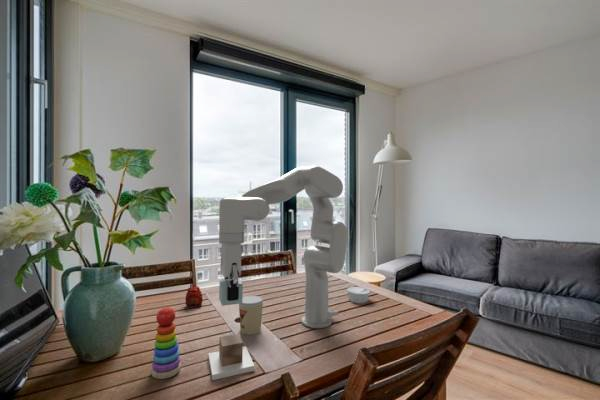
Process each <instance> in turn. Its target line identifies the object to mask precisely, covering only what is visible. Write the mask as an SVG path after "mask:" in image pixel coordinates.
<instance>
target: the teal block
mask: <svg viewBox="0 0 600 400" xmlns="http://www.w3.org/2000/svg"><path fill="white" fill-rule="evenodd" d="M231 280H233V279H231ZM238 284H239V299H238V300H232V301H228V300H227V287H229V285H228V279H225V278H224V279H223V278H222V279H219V288H218V289H219V294H218V295H219V296H218V300H219V302H220V305H221V306H222V307H224V306H231V305H239V304H241V303H242V297H243V288H244V287H243V286H244V285H243V284H244V283H243V282H242V280H241V278H239V277H238Z"/></svg>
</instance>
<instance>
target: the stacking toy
mask: <svg viewBox="0 0 600 400" xmlns="http://www.w3.org/2000/svg"><path fill="white" fill-rule="evenodd" d="M155 318H156V322H157V324H158V325H157V327H156V335H155V338H154V339H155V341H154V349H153V353H154V354H153V359H152V363H151V367H152V368H151V376H152V377H153V378H154V379H157V380H165V379H168V378H172V377H174V376H175V375H177V374H178V373H179V372H180V371H181V369H182V362H181V357H180V349H179V342H178V337H177V330H175V329H176V324H175V322H174V320H176V312H175V310H174V309H173V308H171V307H163V308H162V309H161V308H160V310H159V311H158V312H157V313H156V317H155Z"/></svg>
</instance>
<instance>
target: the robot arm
mask: <svg viewBox="0 0 600 400" xmlns="http://www.w3.org/2000/svg"><path fill="white" fill-rule="evenodd" d="M304 190H305V194H306V195H307V196H308V198H309V200H310V201H311V203H312V209H313V210H312V219H311V226H310V238H311V239H312V241H314V242H316V243H319V244H320V243H321V244H328V245H329V247H327V246H323V245H310V246H308V247H306V249H305V250H304V252H303V256H302V257H303V259H302V260H303V265H304V266H303V267H304V271H305V287H304V288H305V292H304V293H305V294H304V295H305V297H304V301H305V302H304V306H305V307H304V315H303V316H301V320H300V321H301V324H302V325H303V326H306V327H308V328H311V329H324V328H328V327H330V326H331V325H332V322H333V320H332V317H336V316H339V311H338V310H334V311H333V309H329V281H330V280H329V276H328V273H332V274H337V273H340V272H341V271H342V270H343V268H344V266H345V261H346V253H347V245H348V238H349V237H348V236H349V234H348V228H347V226H346V225H345V224H344V222H342V221H338V220H333V218H334V206H333V203H332V202H331V200H330V199H335V198H338V197H340V196H341V195H342V193H343V191H344V185H343V182H342V180H341V178H340V177H338V176H337V175H336V174H333V173H332V172H330V171H328V170H327V169H325V168H324V167H321V166H318V165H309V166H299V167H295V168H294V169H292V170H290V171H289V172H287V173H285V174H283V175H282V176H280V177H278V178H276V179H274V180H273V181H269V182H266V183H265V184H262V185H259V186H257V187H254V188H251V189H249V190H247V191H246V192H244V193H242V194H241V195H239V196H237V197H223V198H221V199H220V200H219V209H218V210H219V213H218V214H219V215H218V216H219V217H218V219H219V221H218V222H219V223H218V224H219V225H218V244H219V245H221V249H220V251H221V252H220V270H219V271H220V274H221V275H222V276H223V278H224V279H228V285H229V287H227V300H228V301H232V300H238V299H239V284H238V278H239V277H240V276H241V274H242V244H244V243H245V221H253V222H259V221H263V220H265V219H266V218H267V217H268V215H269V214H270V212H271V211H270V205H275V204H280V203H283V202H287V201H289V200H290V199H292V198H294V197H295V196H296V195H297V194H298V195H299V193H301V192H302V191H304ZM231 279H233V280H231Z"/></svg>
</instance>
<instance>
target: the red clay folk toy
mask: <svg viewBox="0 0 600 400" xmlns="http://www.w3.org/2000/svg"><path fill="white" fill-rule="evenodd" d="M195 276H196V275H195V274H193V275H192V276H189V279H192V278H193V285H192V287H188V289H187V292H186V295H185V305H186V306H185V307H186V308H189V309H190V308H195V309H196V308H199V307H201V306H202V304H203V302H204V301H203V293H202V291H201V289H200V286H196V280H195V279H196V278H195Z"/></svg>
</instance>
